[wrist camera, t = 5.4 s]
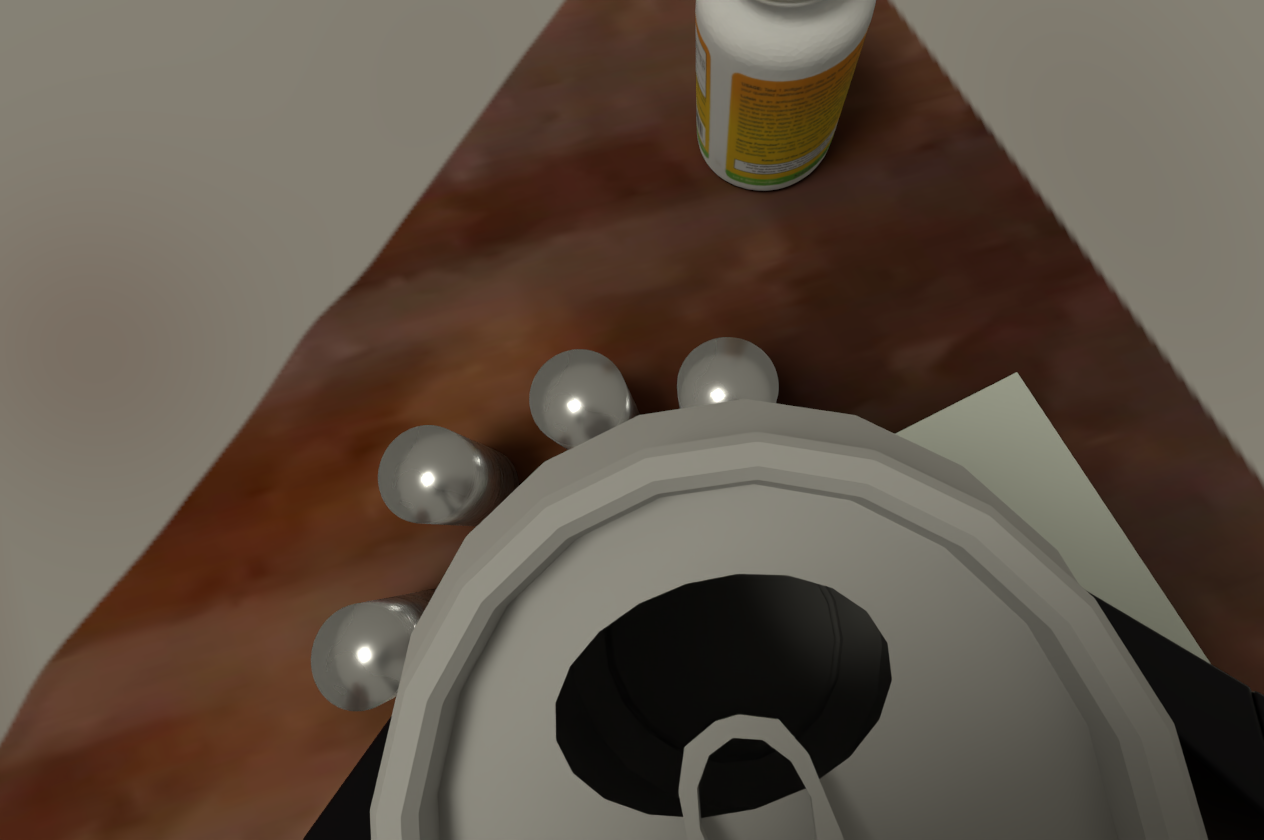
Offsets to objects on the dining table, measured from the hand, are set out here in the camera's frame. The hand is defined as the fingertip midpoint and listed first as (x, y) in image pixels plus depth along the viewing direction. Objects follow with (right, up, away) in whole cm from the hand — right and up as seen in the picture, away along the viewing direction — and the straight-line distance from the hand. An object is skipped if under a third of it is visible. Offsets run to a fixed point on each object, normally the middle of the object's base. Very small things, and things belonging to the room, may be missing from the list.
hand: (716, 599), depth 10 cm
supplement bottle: (+4, +14, +16) cm, 22 cm away
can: (+1, -3, +6) cm, 7 cm away
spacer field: (-3, -1, +14) cm, 14 cm away
